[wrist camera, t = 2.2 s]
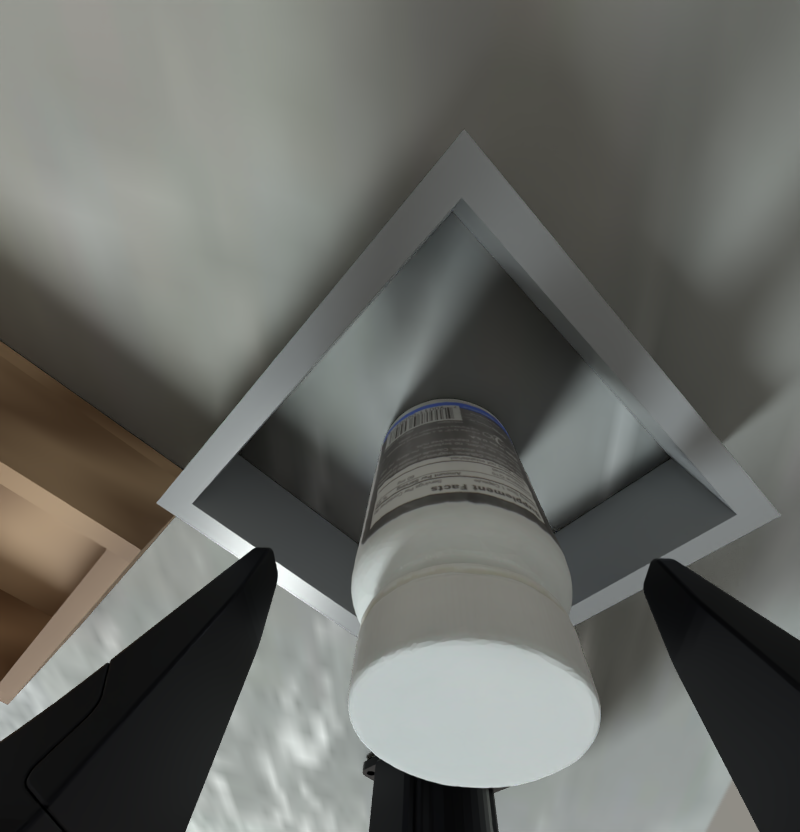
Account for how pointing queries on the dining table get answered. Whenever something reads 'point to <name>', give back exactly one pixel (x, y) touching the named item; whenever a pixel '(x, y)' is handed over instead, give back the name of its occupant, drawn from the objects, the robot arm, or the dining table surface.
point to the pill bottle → (464, 611)
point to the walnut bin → (65, 513)
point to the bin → (578, 323)
